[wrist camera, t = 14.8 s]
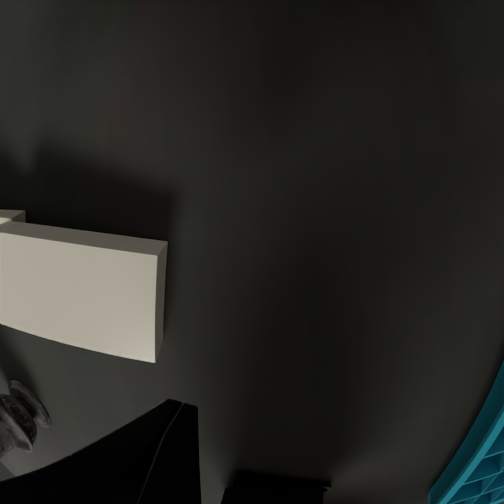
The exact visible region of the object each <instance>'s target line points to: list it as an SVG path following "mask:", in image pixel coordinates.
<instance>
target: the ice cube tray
mask: <svg viewBox="0 0 504 504" xmlns="http://www.w3.org/2000/svg"><path fill="white" fill-rule="evenodd" d="M428 501H429V504H498V503H500V502H503V501H504V360H503V363H502V365H501V368H500V370H499V373H498V375H497V377H496V380H495V382H494V384H493V386H492V388H491V391H490V393H489V395H488V397H487V399H486V401H485V403H484V405H483V407H482V409H481V411H480V413H479V415H478V417H477V418H476V420H475V422H474V424H473V426H472V428H471V429H470V431H469V433H468V434H467V436H466V438H465V440H464V441H463V443H462V445H461V446H460V448H459V449H458V451H457V453H456V454H455V456H454V457H453V459H452V460H451V462H450V463H449V465H448V466H447V468H446V469H445V471H444V472H443V473H442V475H441V476H440V478H439V479H438V480H437V482H436V483H435V484H434V486H433V487H432V488H431V490H430V491H429V494H428Z"/></svg>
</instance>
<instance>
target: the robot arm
mask: <svg viewBox="0 0 504 504" xmlns="http://www.w3.org/2000/svg"><path fill="white" fill-rule="evenodd" d="M330 491H331V484H330V483H327V482H316V481H306V480H297V479H289V478H281V477H275V476H268V475H262V474H257V473H251V472H246V471H239V472H237V473H236V477H235V480H234V484H233V488H231V487H227V488H226V489H225V491H224V495H223V498H222V502H221V504H323V500H324V499H325V498H326V497H327V495H328V494H329V493H330ZM0 504H201V488H200V467H199V438H198V407H197V406H195V405H191V404H187V403H183V404H182V402H180V401H176V400H173V399H166V400H164V401H163V402H161V403H160V404H158V405H156V406H155V407H153V408H152V409H150V410H148V411H147V412H145V413H143V414H142V415H140V416H138V417H137V418H135V419H133V420H132V421H130V422H128V423H126V424H125V425H123V426H121V427H120V428H118V429H116V430H114V431H113V432H111V433H109V434H107V435H106V436H104V437H102V438H100V439H98V440H97V441H95V442H93V443H91V444H89V445H87V446H85V447H84V448H82V449H80V450H78V451H76V452H74V453H72V454H71V456H70V455H68V456H66V457H64V458H62V459H60V460H58V461H56V462H54V463H52V464H50V465H48V466H45V467H43V468H40V469H38V470H35V471H32V472H29V473H27V474H23V475H20V476H17V477H14V478H10V479H7V480H3V481H0Z"/></svg>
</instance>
